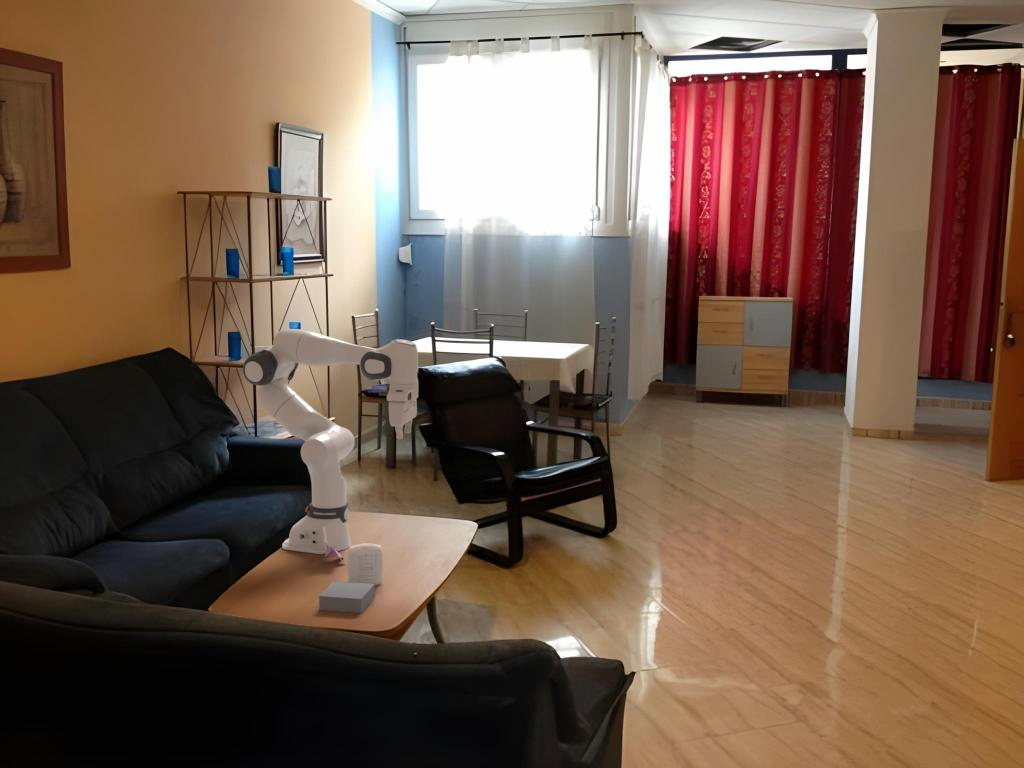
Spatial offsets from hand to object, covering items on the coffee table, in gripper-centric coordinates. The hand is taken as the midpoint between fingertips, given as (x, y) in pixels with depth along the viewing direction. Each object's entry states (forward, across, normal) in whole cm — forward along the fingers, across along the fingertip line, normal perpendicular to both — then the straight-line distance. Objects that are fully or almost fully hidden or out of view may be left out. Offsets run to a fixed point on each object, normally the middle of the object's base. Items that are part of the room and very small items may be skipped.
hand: (403, 436), depth 285 cm
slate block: (+41, +36, -6) cm, 55 cm away
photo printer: (+41, +20, -6) cm, 47 cm away
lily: (+42, +8, -24) cm, 49 cm away
